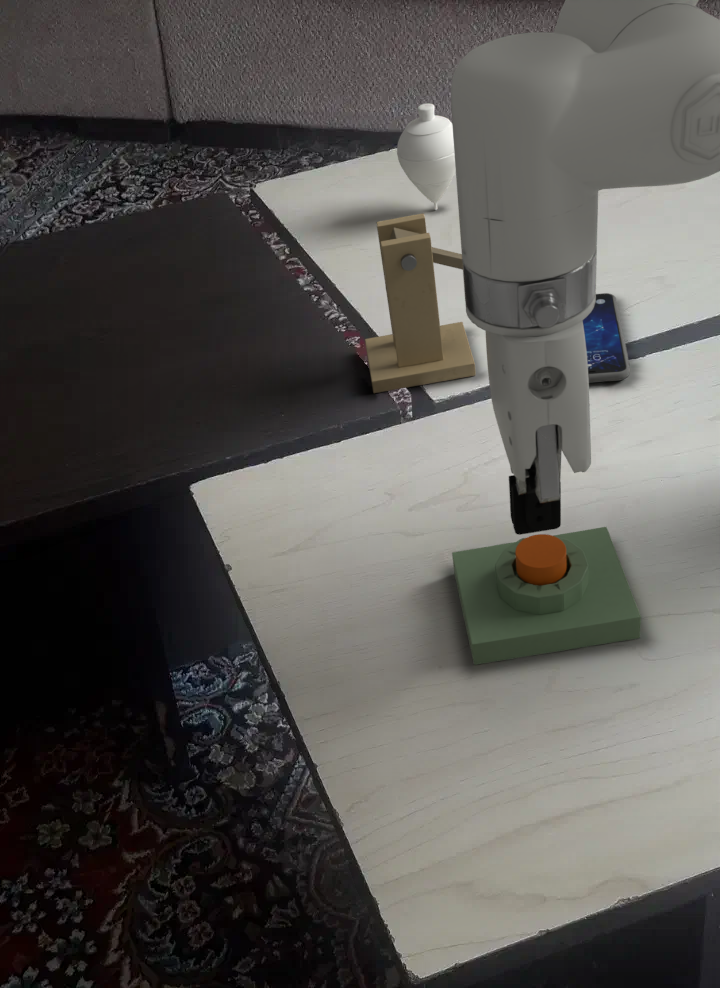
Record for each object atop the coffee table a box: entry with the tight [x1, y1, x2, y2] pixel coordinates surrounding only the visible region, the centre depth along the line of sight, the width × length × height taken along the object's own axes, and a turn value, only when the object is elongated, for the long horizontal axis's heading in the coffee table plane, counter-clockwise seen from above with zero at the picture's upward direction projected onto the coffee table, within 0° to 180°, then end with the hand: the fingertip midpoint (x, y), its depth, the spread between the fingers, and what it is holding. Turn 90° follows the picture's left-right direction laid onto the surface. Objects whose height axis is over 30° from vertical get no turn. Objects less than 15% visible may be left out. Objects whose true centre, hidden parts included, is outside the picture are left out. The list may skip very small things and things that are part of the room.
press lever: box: [390, 228, 463, 271], centre depth 98 cm, size 13×6×2 cm, turn 95°
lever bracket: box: [364, 212, 477, 394], centre depth 100 cm, size 10×8×14 cm
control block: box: [451, 526, 642, 666], centre depth 78 cm, size 12×10×4 cm
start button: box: [515, 533, 567, 585], centre depth 77 cm, size 4×4×2 cm
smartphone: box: [583, 292, 631, 384], centre depth 103 cm, size 7×1×15 cm
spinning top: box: [396, 102, 456, 211], centre depth 124 cm, size 8×8×12 cm
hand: (535, 524), depth 74 cm, fingers closed
